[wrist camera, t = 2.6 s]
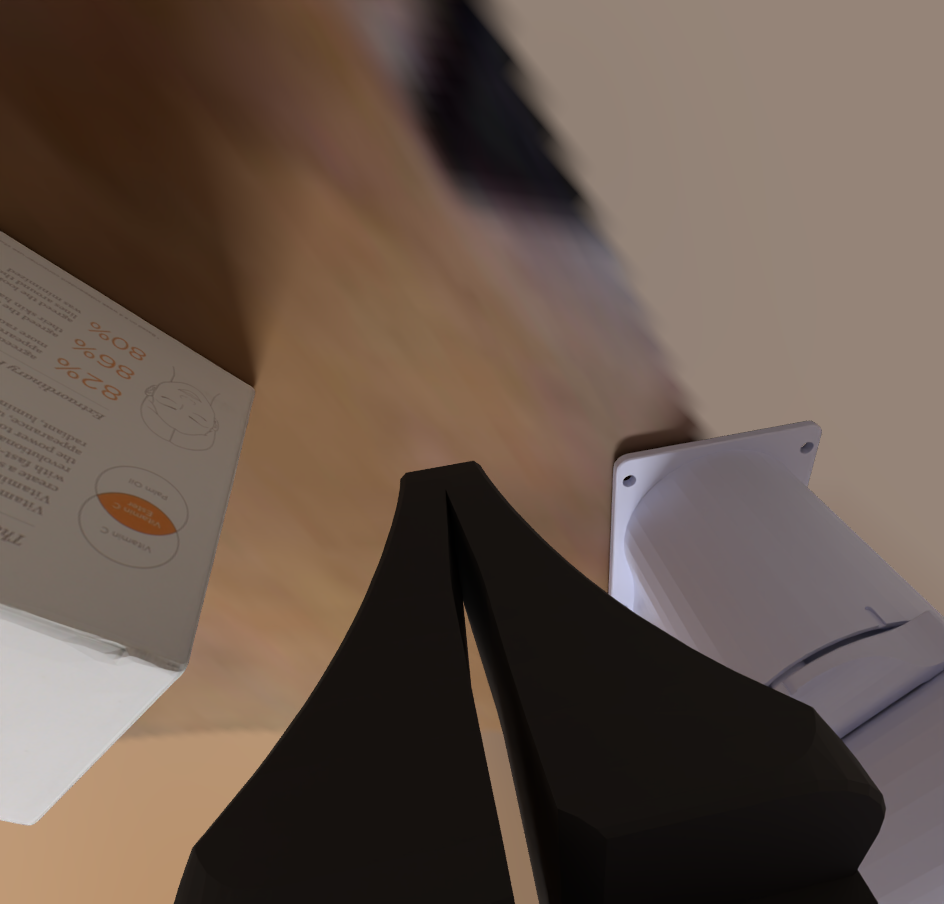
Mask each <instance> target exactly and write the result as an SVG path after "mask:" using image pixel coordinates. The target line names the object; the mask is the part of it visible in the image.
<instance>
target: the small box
mask: <svg viewBox="0 0 944 904" xmlns="http://www.w3.org/2000/svg"><path fill="white" fill-rule="evenodd" d="M254 396H255V390H254V388H253V387H252V386H250V385H248V384H246V383H245V382H243V381H241V380H240V379H238V378H236V377H235V376H233V375H231V374H230V373H228V372H227V371H225V370H223V369H222V368H220V367H218V366H217V365H215V364H214V363H212V362H211V361H209V360H207V359H206V358H204V357H203V356H201V355H199V354H198V353H196V352H195V351H193V350H191V349H190V348H188V347H187V346H185V345H183V344H182V343H180V342H179V341H177V340H175V339H174V338H172V337H171V336H169V335H167V334H166V333H164V332H162V331H161V330H159V329H157V328H156V327H154V326H153V325H151V324H149V323H148V322H146V321H145V320H143V319H141V318H140V317H138V316H137V315H135V314H133V313H132V312H130V311H129V310H127V309H125V308H124V307H122V306H121V305H119V304H117V303H116V302H114V301H113V300H111V299H109V298H108V297H106V296H105V295H103V294H101V293H100V292H98V291H97V290H95V289H93V288H92V287H90V286H88V285H87V284H85V283H83V282H82V281H80V280H79V279H77V278H75V277H74V276H72V275H70V274H69V273H67V272H66V271H64V270H62V269H61V268H59V267H58V266H56V265H54V264H53V263H51V262H50V261H48V260H46V259H45V258H43V257H41V256H40V255H38V254H37V253H35V252H33V251H32V250H30V249H29V248H27V247H25V246H24V245H22V244H21V243H19V242H17V241H16V240H14V239H13V238H11V237H9V236H8V235H6V234H5V233H3V232H1V231H0V820H2V821H8V822H13V823H17V824H22V825H33V824H35V823H36V822H37V821H39V820H40V819H41V818H42V817H43V816H44V814H45V813H46V812H47V811H48V810H49V809H50V808H51V807H52V806H53V805H54V804H55V803H56V802H57V801H58V800H59V799H60V798H61V797H62V796H63V795H64V794H65V793H66V792H67V791H68V790H69V789H70V788H71V787H72V786H73V785H74V784H75V783H76V782H77V780H78V779H80V778H81V777H82V776H83V775H84V774H85V772H87V771H88V770H89V769H90V768H91V766H92V765H93V764H94V763H95V762H96V761H97V760H98V759H99V758H100V757H101V756H102V755H103V754H104V753H105V752H106V751H107V750H108V749H109V748H110V747H111V746H112V745H113V744H114V743H115V742H116V741H117V740H118V739H119V738H120V737H121V736H122V735H123V734H124V733H125V732H126V731H127V730H128V729H129V728H130V727H131V726H132V725H133V724H134V723H135V722H136V721H137V720H138V719H139V718H140V717H141V716H142V714H143V713H144V712H145V711H146V710H147V709H148V708H149V707H150V706H151V705H152V704H153V703H154V702H155V701H156V700H157V699H158V698H159V697H160V696H161V695H162V694H163V693H164V692H165V691H166V690H167V689H168V688H169V687H170V686H171V685H172V684H173V683H174V682H175V681H176V680H177V679H178V678H179V677H180V676H181V675H182V674H183V672H184V671H185V669H186V667H187V665H188V663H189V659H190V655H191V650H192V646H193V642H194V638H195V634H196V630H197V626H198V622H199V617H200V613H201V609H202V605H203V602H204V598H205V593H206V589H207V585H208V581H209V577H210V573H211V569H212V565H213V561H214V557H215V553H216V549H217V545H218V541H219V537H220V533H221V529H222V526H223V521H224V517H225V513H226V509H227V506H228V501H229V497H230V493H231V489H232V486H233V482H234V477H235V473H236V469H237V465H238V460H239V456H240V452H241V449H242V444H243V440H244V436H245V431H246V427H247V424H248V419H249V415H250V411H251V407H252V403H253V399H254Z"/></svg>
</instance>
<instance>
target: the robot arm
mask: <svg viewBox="0 0 944 904" xmlns="http://www.w3.org/2000/svg"><path fill="white" fill-rule="evenodd" d="M821 433H822V430H821V428H820V427H819V426H818V425H817V424H816V423H815V422H813V421H803V422H798V423H793V424H788V425H782V426H777V427H771V428H765V429H760V430H754V431H749V432H744V433H738V434H732V435H727V436H721V437H716V438H711V439H705V440H700V441H694V442H689V443H683V444H678V445H672V446H667V447H661V448H656V449H650V450H645V451H639V452H634V453H629V454H625V455H622V456H621V457H619V458H618V459H617V460H616V462H615V463H614V467H613V491H612V517H611V543H610V568H609V594H608V593H606V592H605V591H604V590H602V589H601V588H600V587H598V586H597V585H596V584H595V583H593V582H592V581H591V580H589V579H588V578H587V577H586V576H584V575H583V574H582V573H581V572H579V571H578V570H577V569H576V568H575V567H574V566H572V565H571V564H570V563H569V562H568V561H567V560H565V559H564V558H563V557H562V556H561V555H560V554H559V553H558V552H557V551H556V550H554V549H553V548H552V547H551V546H550V545H549V544H548V543H547V542H546V541H545V540H544V539H543V538H542V537H541V536H540V535H539V534H538V533H537V532H536V531H535V530H534V529H533V528H532V527H531V526H530V525H529V524H528V523H527V522H526V521H525V520H524V519H523V518H522V517H521V516H520V515H519V514H518V513H517V512H516V510H515V509H514V508H513V507H512V506H511V505H510V504H509V503H508V501H507V500H506V499H505V498H504V497H503V495H502V494H501V493H500V492H499V491H498V489H497V488H496V487H495V486H494V484H493V483H492V482H491V480H490V479H489V478H488V476H487V475H486V473H485V472H484V470H483V469H482V467H481V466H480V465H479V464H478V463H476V462H475V461H470V462H464V463H458V464H453V465H447V466H442V467H436V468H431V469H425V470H420V471H414V472H408V473H405V475H404V476H403V477H402V478H401V479H400V491H399V497H398V502H397V507H396V511H395V515H394V518H393V522H392V526H391V529H390V532H389V535H388V538H387V541H386V544H385V547H384V550H383V553H382V556H381V559H380V561H379V564H378V566H377V569H376V571H375V574H374V576H373V578H372V581H371V583H370V586H369V588H368V591H367V593H366V595H365V598H364V600H363V602H362V604H361V606H360V608H359V610H358V612H357V615H356V617H355V619H354V621H353V623H352V625H351V626H350V628H349V630H348V632H347V634H346V636H345V638H344V640H343V642H342V643H341V645H340V647H339V649H338V650H337V652H336V654H335V656H334V657H333V659H332V661H331V662H330V664H329V666H328V667H327V669H326V671H325V672H324V674H323V676H322V677H321V679H320V681H319V682H318V684H317V686H316V687H315V689H314V690H313V692H312V693H311V695H310V697H309V698H308V700H307V701H306V703H305V704H304V706H303V707H302V708H301V710H300V711H299V713H298V714H297V715H296V717H295V718H294V720H293V721H292V722H291V724H290V725H289V727H288V728H287V729H286V731H285V732H284V734H283V735H282V736H281V738H280V739H279V741H278V742H277V743H276V745H275V746H274V748H273V749H272V750H271V752H270V753H269V755H268V756H267V757H266V759H265V760H264V761H263V763H262V764H261V765H260V767H259V768H258V769H257V770H256V772H255V773H254V774H253V776H252V777H251V778H250V779H249V780H248V782H247V783H246V784H245V785H244V786H243V788H242V789H241V790H240V791H239V793H238V794H237V795H236V796H235V797H234V799H233V800H232V801H231V802H230V803H229V805H228V806H227V807H226V808H225V809H224V811H223V812H222V813H221V814H220V816H219V817H218V818H217V819H216V820H215V822H214V823H213V824H212V825H211V826H210V828H209V829H208V830H207V831H206V833H205V834H204V835H203V836H202V837H201V838H200V840H199V841H198V842H197V843H196V844H195V845H194V847H193V848H192V851H191V854H190V856H189V859H188V862H187V865H186V867H185V870H184V873H183V876H182V879H181V882H180V885H179V888H178V891H177V895H176V898H175V902H174V904H515V902H514V896H513V891H512V886H511V881H510V876H509V871H508V866H507V861H506V855H505V850H504V845H503V840H502V835H501V830H500V825H499V820H498V815H497V810H496V806H495V801H494V797H493V792H492V786H491V781H490V777H489V772H488V767H487V762H486V757H485V752H484V747H483V742H482V738H481V733H480V728H479V723H478V718H477V713H476V708H475V703H474V698H473V693H472V688H471V679H470V668H469V658H468V648H467V637H466V627H465V617H464V606H465V609H466V612H467V615H468V619H469V622H470V625H471V628H472V632H473V635H474V638H475V641H476V645H477V648H478V651H479V654H480V657H481V661H482V664H483V667H484V670H485V673H486V677H487V680H488V683H489V686H490V689H491V693H492V696H493V699H494V702H495V705H496V709H497V712H498V716H499V720H500V724H501V727H502V731H503V735H504V739H505V744H506V749H507V753H508V758H509V762H510V767H511V772H512V777H513V781H514V785H515V790H516V795H517V800H518V804H519V809H520V814H521V819H522V824H523V828H524V833H525V838H526V842H527V847H528V852H529V856H530V861H531V866H532V871H533V876H534V881H535V885H536V890H537V895H538V900H539V904H944V617H943V616H942V615H941V614H940V613H939V612H938V611H937V610H936V609H935V608H934V607H933V606H932V605H931V604H930V603H929V602H928V601H927V600H925V599H924V598H923V597H922V596H921V595H920V594H919V593H918V592H917V591H916V590H915V589H914V588H913V587H912V586H911V585H910V584H909V583H908V582H907V581H906V580H904V578H902V577H901V576H900V575H899V574H898V573H897V572H896V571H895V570H894V569H893V568H892V567H891V566H890V565H889V564H888V563H887V562H886V561H885V560H883V559H882V558H881V557H880V556H879V555H878V554H877V553H876V552H875V551H874V550H873V549H872V548H871V547H870V546H869V545H868V544H867V543H866V542H864V541H863V540H862V539H861V538H860V537H859V536H858V535H857V534H856V533H855V532H854V531H853V530H852V529H851V528H850V527H849V526H848V525H847V524H846V523H845V522H843V521H842V520H841V519H840V518H839V517H838V516H837V515H836V514H835V513H834V512H833V511H832V510H831V509H830V508H829V507H828V506H826V505H825V503H823V502H822V501H821V500H820V499H819V498H818V497H817V496H816V495H815V494H814V493H813V492H812V491H811V490H810V489H809V488H808V487H807V486H808V482H809V479H810V475H811V471H812V467H813V463H814V460H815V456H816V452H817V449H818V445H819V441H820V437H821ZM805 443H806V444H805ZM804 444H805V445H804ZM803 445H804V446H803ZM802 446H803V447H802ZM629 475H632V476H631V477H630V478H629V479H628V480H626V481H623V479H624V478H625V477H627V476H629ZM463 602H464V606H463Z"/></svg>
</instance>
